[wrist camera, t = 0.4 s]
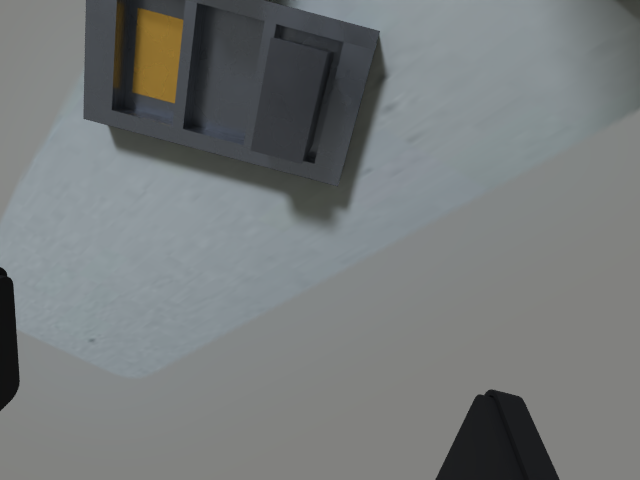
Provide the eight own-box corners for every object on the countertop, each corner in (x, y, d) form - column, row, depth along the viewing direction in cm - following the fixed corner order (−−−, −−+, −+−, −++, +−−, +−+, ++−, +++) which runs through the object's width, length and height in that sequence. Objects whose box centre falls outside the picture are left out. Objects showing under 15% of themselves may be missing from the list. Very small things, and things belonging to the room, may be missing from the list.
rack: (109, -40, 32) (47, -62, 25) (379, 32, 32) (381, 27, 26) (103, 113, 36) (48, 126, 30) (339, 176, 36) (334, 202, 30)
